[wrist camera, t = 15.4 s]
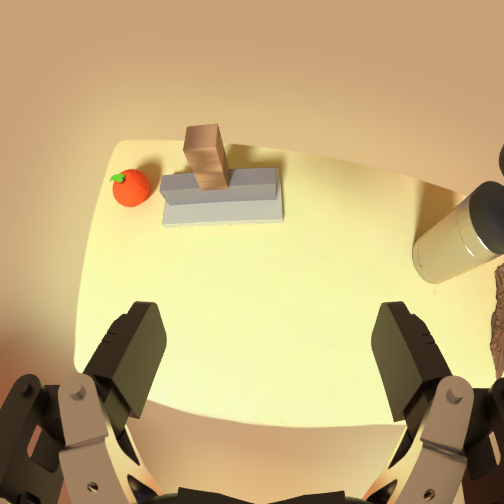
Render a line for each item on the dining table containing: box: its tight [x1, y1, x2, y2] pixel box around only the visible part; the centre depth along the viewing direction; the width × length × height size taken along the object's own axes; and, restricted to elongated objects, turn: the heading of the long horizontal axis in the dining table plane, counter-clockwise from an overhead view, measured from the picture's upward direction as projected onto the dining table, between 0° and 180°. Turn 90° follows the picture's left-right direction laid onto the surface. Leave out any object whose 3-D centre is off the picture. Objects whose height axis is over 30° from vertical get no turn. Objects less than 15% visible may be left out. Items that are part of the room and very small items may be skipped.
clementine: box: [110, 169, 149, 207], centre depth 45 cm, size 8×7×7 cm
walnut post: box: [183, 124, 229, 191], centre depth 36 cm, size 4×4×10 cm
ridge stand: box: [160, 167, 283, 228], centre depth 44 cm, size 20×10×6 cm, turn 91°
